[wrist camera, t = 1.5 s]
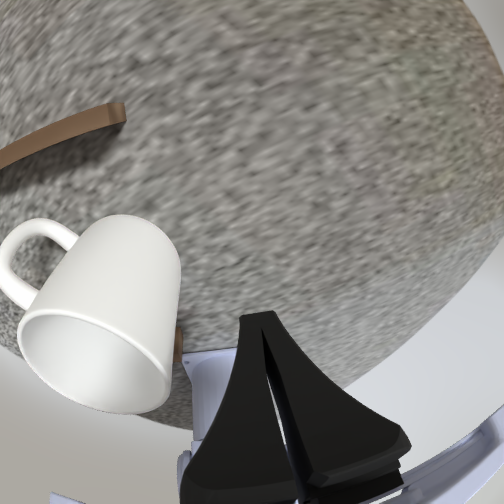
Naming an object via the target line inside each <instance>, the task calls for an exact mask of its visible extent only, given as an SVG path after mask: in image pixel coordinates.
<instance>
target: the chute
mask: <svg viewBox="0 0 504 504" xmlns="http://www.w3.org/2000/svg"><path fill="white" fill-rule="evenodd" d="M124 121H126V114H125V107H124V103H107V104H103V105H100V106H97V107H94V108H91V109H88V110H86V111H83V112H80V113H77V114H75V115H72V116H70V117H67V118H65V119H62V120H60V121H57V122H55V123H53V124H50V125H48V126H46V127H44V128H41V129H39V130H37V131H35V132H33V133H31V134H29V135H27V136H25V137H23V138H21V139H19V140H17V141H15V142H13V143H11V144H10V145H8V146H6V147H4V148H3V149H1V150H0V169H2V168H4V167H6V166H8V165H10V164H12V163H14V162H16V161H18V160H20V159H22V158H24V157H26V156H29V155H31V154H33V153H35V152H38V151H40V150H42V149H45V148H47V147H49V146H52V145H54V144H57V143H59V142H62V141H65V140H67V139H70V138H73V137H76V136H79V135H81V134H84V133H87V132H90V131H93V130H97V129H100V128H103V127H106V126H110V125H113V124H117V123H120V122H124ZM182 353H183V334H182V331H181V328H180V327H175V338H174V350H173V362H182Z"/></svg>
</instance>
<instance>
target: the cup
mask: <svg viewBox="0 0 504 504" xmlns="http://www.w3.org/2000/svg"><path fill="white" fill-rule="evenodd" d="M37 235H41V236H46V237H48V238H50V239H52V240H54V241H55V242H57V243H58V244H59V245H60V246H61V247H63V248H64V249H65V250H66V251H67V253H66V255H65V256H64V257H63V259H62V260H61V261H60V263H59V264H58V265H57V267H56V268H55V269H54V271H53V272H52V273H51V275H50V276H49V278H48V279H47V281H46V282H45V284H44V285H43V287H42V288H41V290H40V291H39V290H37V289H36V288H34V287H32V286H31V285H29V284H28V283H26V282H25V281H23V280H22V279H21V278H19V277H18V276H17V275H16V274H15V273H14V272H13V271H12V268H11V264H12V260H13V258H14V255H15V253H16V252H17V250H18V249H19V247H20V246H21V245H22V244H23V243H24V242H25V241H26V240H28V239H29V238H31V237H33V236H37ZM180 282H181V265H180V259H179V256H178V253H177V251H176V249H175V247H174V245H173V243H172V242H171V240H170V239H169V238H168V237H167V235H166V234H165V233H164V232H163V231H162V230H161V229H159V228H158V227H157V226H155V225H154V224H152V223H151V222H149V221H147V220H145V219H142V218H140V217H136V216H132V215H111V216H107V217H104V218H102V219H100V220H98V221H96V222H95V223H93V224H92V225H91V226H90V227H89V228H87V229H86V230H85V231H84V233H83V234H82V235H81V236H80V237H79V236H78V235H77V234H75V233H74V232H72V231H71V230H70V229H68V228H67V227H65V226H64V225H62V224H60V223H58V222H56V221H53V220H50V219H46V218H35V219H31V220H28V221H26V222H24V223H22V224H20V225H19V226H17V227H16V228H15V229H14V230H12V231H11V232H10V233H9V235H8V236H7V237H6V238H5V240H4V241H3V243H2V244H1V246H0V288H1V289H2V291H3V292H4V293H5V294H6V295H7V296H8V297H9V298H10V299H11V300H12V301H13V302H14V303H16V304H17V305H18V306H20V307H21V308H23V309H24V310H26V313H25V314H24V316H23V318H22V319H21V321H20V323H19V325H18V330H17V339H18V344H19V348H20V350H21V353H22V355H23V357H24V358H25V360H26V362H27V363H28V365H29V366H30V367H31V369H32V370H33V371H34V372H35V373H36V374H37V375H38V376H39V377H40V378H41V379H42V380H43V381H44V382H45V383H46V384H47V385H49V386H50V387H51V388H53V389H54V390H55V391H57V392H58V393H60V394H61V395H63V396H65V397H67V398H69V399H71V400H72V401H75V402H77V403H79V404H81V405H84V406H86V407H89V408H92V409H95V410H99V411H103V412H108V413H114V414H140V413H145V412H149V411H152V410H154V409H156V408H158V407H160V406H161V405H162V404H164V403H165V401H166V400H167V399H168V397H169V395H170V392H171V379H172V364H173V350H174V338H175V327H176V317H177V308H178V299H179V291H180Z"/></svg>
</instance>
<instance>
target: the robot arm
mask: <svg viewBox="0 0 504 504" xmlns="http://www.w3.org/2000/svg"><path fill="white" fill-rule="evenodd" d="M239 321H240V329H239V339H238V345H237V348H230V349H222V350H214V351H206V352H197V353H187V354H182V364H183V366H184V368H185V371H186V373H187V375H188V377H189V379H190V381H191V383H192V409H193V438H194V441H192V442H191V446H192V453H191V451H190V450H187V451H186V450H185V451H183V454H181V455H180V456H179V457H178V461H177V483H178V492H179V498H180V504H369V503H371V502H374V501H376V500H378V499H381V498H383V497H386V496H388V495H390V494H392V493H394V492H396V491H398V490H400V489H403V490H402V493H401V494H400V495H399V496H396V497H393V498H391V499H389V500H386V501H384V502H382V503H379V504H465V503H466V502H467V501H468V500H469V499H470V498H471V497H472V496H473V495H474V494H476V493H477V492H478V491H479V490H480V489H481V488H482V487H483V486H484V485H485V483H487V482H488V481H489V479H490V478H491V477H492V476H493V475H494V474H495V473H496V472H497V471H498V470H499V468H500V467H501V466H502V465H503V464H504V404H503V405H502V406H501V407H500V408H499V409H498V410H497V411H496V412H494V413H493V414H492V415H491V416H489V417H488V418H487V419H486V420H485V421H484V422H483V423H481V424H480V426H479V427H477V428H476V429H475V430H473V431H472V432H471V433H469V434H468V435H466V436H465V437H464V438H462V439H461V440H460V441H458V442H457V443H455V444H453V445H452V446H450V447H449V448H447V449H446V450H444V451H443V452H441V453H440V454H438V455H436V456H435V457H433V458H431V459H430V460H428V461H426V462H424V463H422V464H421V465H419V466H417V467H415V468H413V469H411V470H409V471H407V472H405V473H403V474H400V472H399V469H398V468H400V467H401V465H400V462H399V460H398V459H399V458H400V457H402V456H403V455H404V454H406V453H407V452H408V451H409V450H410V449H411V447H412V445H411V443H410V441H409V439H408V437H407V435H406V434H405V432H404V431H403V429H402V428H401V426H400V425H398V424H396V423H394V422H392V421H390V420H388V419H387V418H385V417H383V416H381V415H379V414H377V413H376V412H374V411H373V410H371V409H369V408H368V407H366V406H364V405H363V404H362V403H360V402H359V401H357V400H356V399H355V398H353V397H352V396H350V395H349V394H347V393H346V392H345V391H344V390H342V389H341V388H340V387H339V386H337V385H336V384H335V383H334V382H333V381H332V380H330V379H329V378H328V377H327V376H326V375H325V374H324V373H323V372H322V371H321V370H320V369H319V368H318V367H317V366H316V365H315V364H314V363H313V362H312V361H311V360H310V359H309V358H308V357H307V355H306V354H305V353H304V352H303V351H302V350H301V348H300V347H299V346H298V345H297V344H296V342H295V341H294V340H293V338H292V337H291V336H290V335H289V333H288V332H287V330H286V329H285V327H284V326H283V324H282V323H281V321H280V320H279V318H278V316H277V314H276V312H274V311H273V310H272V311H266V312H260V313H253V314H247V315H242V316H241V317H239ZM267 377H268V380H269V383H270V386H271V389H272V392H273V395H274V399H275V402H276V405H277V408H278V411H279V414H280V418H281V422H282V427H283V431H284V436H285V441H286V444H285V445H284V442H283V438H282V434H281V431H280V427H279V423H278V420H277V416H276V412H275V408H274V404H273V400H272V396H271V392H270V388H269V384H268V380H267ZM50 504H85V503H83V502H80V501H77V500H74V499H71V498H68V497H65V496H62V495H59V494H56V493H54V492H51V493H50Z"/></svg>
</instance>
